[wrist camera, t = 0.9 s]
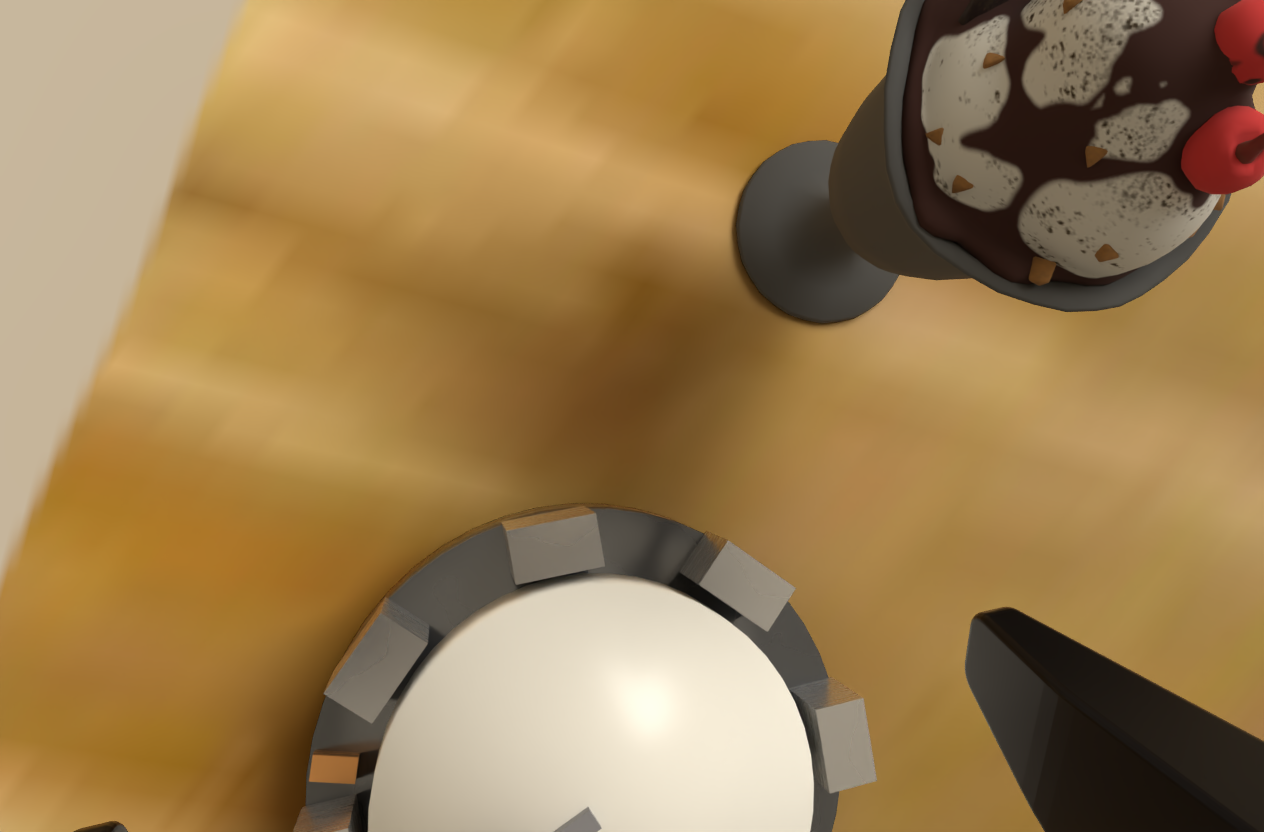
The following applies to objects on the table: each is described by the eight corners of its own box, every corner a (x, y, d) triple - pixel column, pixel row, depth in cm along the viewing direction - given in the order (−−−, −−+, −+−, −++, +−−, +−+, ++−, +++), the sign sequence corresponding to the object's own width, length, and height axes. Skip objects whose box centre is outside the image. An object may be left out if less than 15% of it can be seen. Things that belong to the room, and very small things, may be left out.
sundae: (910, 379, 26) (1544, 324, 11) (681, 320, 24) (1048, 168, 10) (957, 150, 26) (1636, -204, 11) (734, 80, 25) (1169, -427, 10)
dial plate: (902, 805, 25) (969, 861, 22) (500, 1118, 23) (510, 1232, 20) (656, 407, 24) (689, 405, 21) (205, 699, 22) (163, 748, 19)
